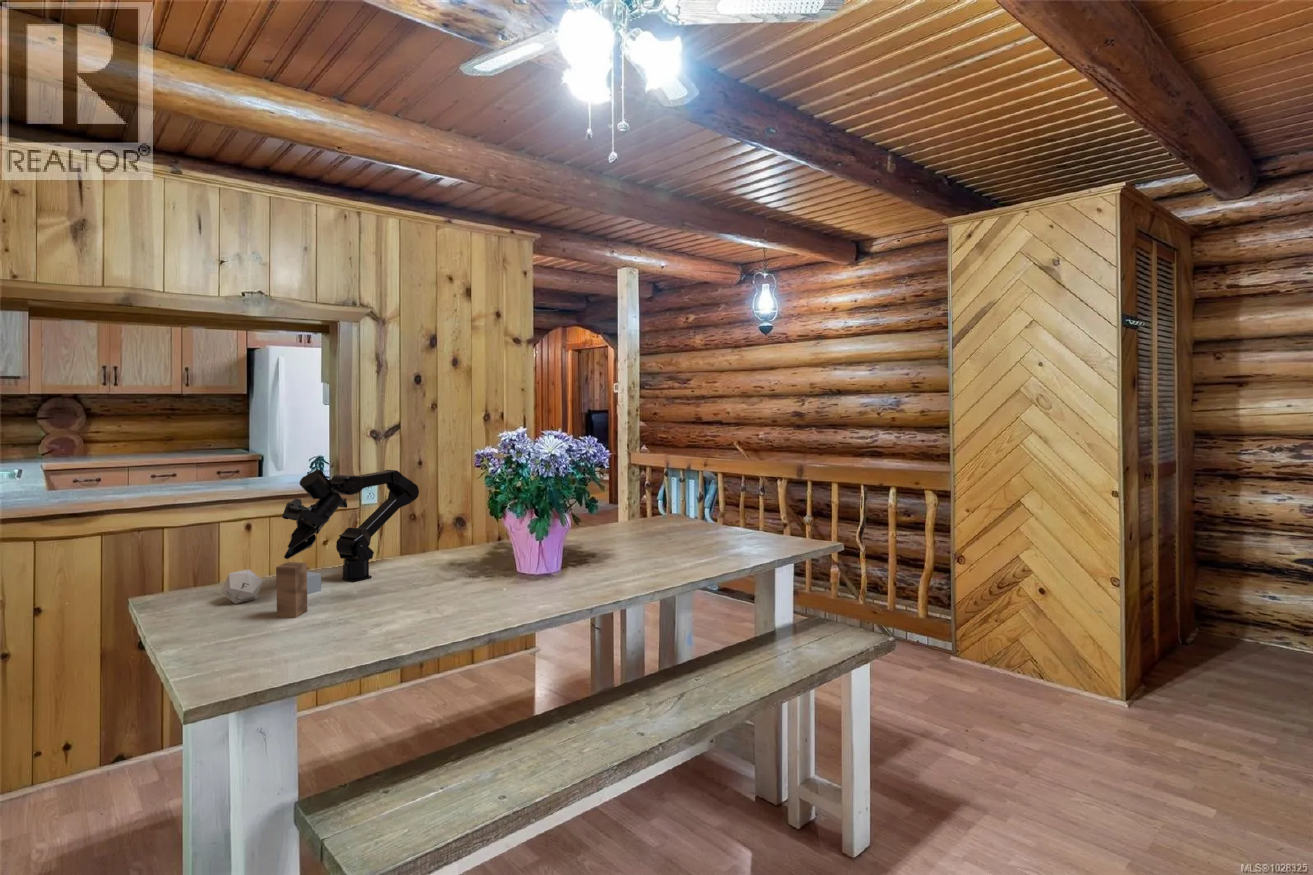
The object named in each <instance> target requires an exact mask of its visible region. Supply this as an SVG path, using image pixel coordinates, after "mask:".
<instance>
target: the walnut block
mask: <svg viewBox="0 0 1313 875" xmlns="http://www.w3.org/2000/svg"><path fill="white" fill-rule="evenodd" d="M307 564H308V563H307V562H305V561H304V562H300V561H298V562H297V561H287V562H284V563H282V564H279V565H277V566H275V576H276V577H275V580H276V582H275V583H276V584H275V585H276V586H275V587H276V618H288V619H289V618H291V619H296V618H299V617H300V616H302V615H304V614H306V613H307V612H308V595H307V572H308V570H307V568H308V565H307Z"/></svg>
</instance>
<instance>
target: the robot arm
mask: <svg viewBox="0 0 1313 875" xmlns="http://www.w3.org/2000/svg"><path fill="white" fill-rule="evenodd" d="M380 485H386V488H387V490H388V494H387V495H388V496H387V499H385V500H384V501H383V503H381V504H380V506H379V507H377V508H376V510H374V511H373V512H372V514H370V515H369V516H367V518H366V519H365V520H363V522H362V523H361V524H360V525H359V526H358V527H357V528H356V527H351V526H349V527H347V528H346V529H345V530H344V531H343V532H342V534H340V535H338V537H339V538H338V539H337V540H336V542H335V543H336V545H335V546H336V547H335V548H336V551H337V553H338V555H339V558H340V559H341V560H342V559H343V565H342V576H341V579H342V580H346V581H349V582H352V583H354V582H358V581H363V580H368V579H370V578H371V579H372V577H373V576H372V575H370V570H369V569H370V564H369V560H372V559H373V557H374V554H375V551H374V550H373V549H371V547H370V544H371V541H372V537H373V536H374V535H375V534H376V533H377V532H378V531H379V530H380V529H381V528H382V527H383V526H384V525H385V523H386V522H388V521H389V519H391V518H392V517H393V516H394V514H395V513H397V511H398V510H400V508H403V507H405V506H407V505H410V504H411V503H412V502H414V501H415V500H416V499H418V497H419V495H420V490H419V489H420V488H419V486H418V485H417V484H416V483H414V482H413V481H412V480H411V479H409V478H408V477H406V476H404V475H403V474H402V473H401V472H400V471H399V470H396V469H394V470H393V469H385V470H383V471H376V472H371V473H364V474H359V475H358V474H357V475H354V474H353V475H352V474H351V475H348V474H335V475H333V476H332V478H330V479H329V478H327V476H326V475H325V473H324V472H323V470H322V469H315V470H314V471H313V472H309V473H307V474H306V475H305V476H303V477H301V479H300V480H299V486H301V488H302V489H303V490H304V491H305V492H306V493H307V495H308V496H309V497H310V498H311V499H313V500H316V502H315V503H313V504H310V505H309V507H307V506H305V505H304V504H303V503H302V499H300V498H294V499H292V501H288V502H287V503H286V505H285V508H284V510H283V514H282V517H281V518H283V519H284V520H291V521H295V525H296V528H295V529H294V530H293V531H292V533H291V535H290V541H289V543H288V545H287V548H288V549H287V551H286V552H285V554H284V557H283V558H284V559H286V560H289V559H290V558H293V557H294V556H296V555H297V554H299V553H302V552H304V551H305V550H307V549H310V548H312V546H313V545H314V543H315V542H316V541H317V538H316V537H317V536H316V535H318V534H319V533H320V532H321V529H322V528H323V527H324V526H325V524H327V523H328V522H329V521H330V519H331V517H332V516H333V515H334V513H336V511H337V510H338V508H343V509H344V508H348V502H347V498H346V497H342V496H341V495H345V496H346V495H347V496H353V495H354V494H358V493H359V492H361V491H362V490H364V489H366V488H372V487H375V486H380Z"/></svg>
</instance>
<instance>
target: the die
mask: <svg viewBox="0 0 1313 875" xmlns="http://www.w3.org/2000/svg"><path fill="white" fill-rule="evenodd" d="M263 583H264V580H263V579H262V578H260V577H259V575H257V574H256V573H255V572H254V571H253V570H252V569H249V568H248V569H243V570H239V571H238V570H237V571H234V572H229V573H228V575H227V577H226V580H225V582H224V584H223V587H222V589H221V593H222V594H223V595H224V596H226V598H227V599H229V600H230V601H231V602H232V603H234V605H238V604H241V603H245V602H250V601H254V600H257V598H258V596H259V593H260V590H261V588H262V585H263Z"/></svg>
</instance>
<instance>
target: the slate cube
mask: <svg viewBox="0 0 1313 875" xmlns="http://www.w3.org/2000/svg"><path fill="white" fill-rule="evenodd" d="M321 591H322V573H318V572H313V571H307V596H308V595H311V594H314V593H317V592H321Z"/></svg>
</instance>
